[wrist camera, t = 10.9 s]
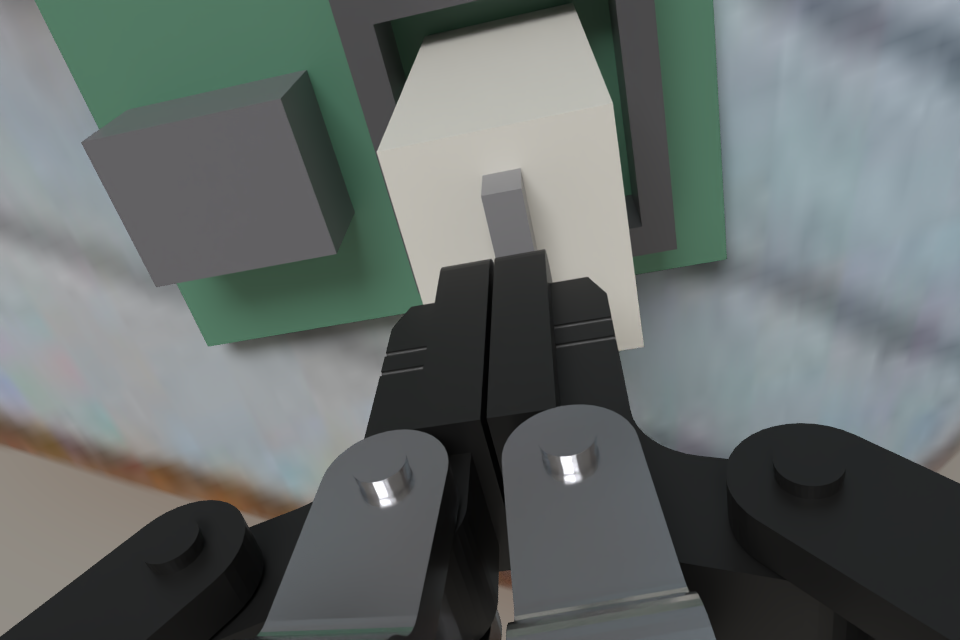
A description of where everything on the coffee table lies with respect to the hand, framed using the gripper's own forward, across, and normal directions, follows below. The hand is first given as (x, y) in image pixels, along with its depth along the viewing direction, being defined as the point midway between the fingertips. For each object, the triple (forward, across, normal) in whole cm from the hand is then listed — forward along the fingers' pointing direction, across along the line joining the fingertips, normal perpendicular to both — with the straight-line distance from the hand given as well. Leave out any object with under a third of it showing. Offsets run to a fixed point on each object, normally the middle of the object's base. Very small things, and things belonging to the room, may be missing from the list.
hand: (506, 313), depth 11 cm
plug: (+10, 0, 0) cm, 10 cm away
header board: (+11, +3, 0) cm, 11 cm away
